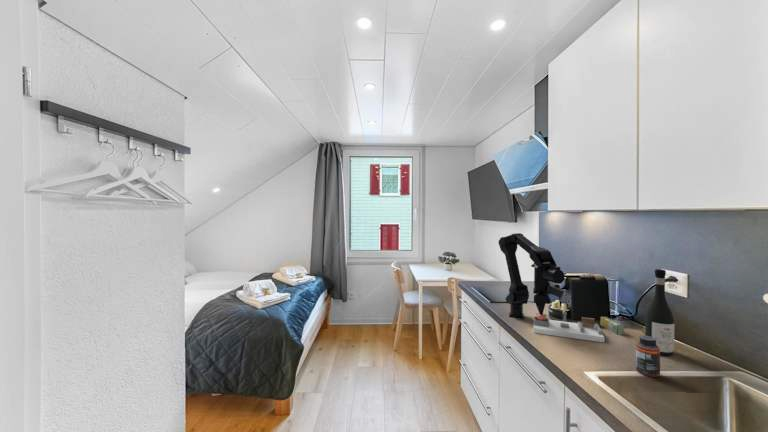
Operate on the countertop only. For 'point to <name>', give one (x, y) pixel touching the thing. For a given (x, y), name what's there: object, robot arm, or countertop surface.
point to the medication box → (612, 325)
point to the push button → (541, 317)
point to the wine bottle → (660, 317)
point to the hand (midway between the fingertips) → (541, 314)
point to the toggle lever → (564, 315)
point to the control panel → (568, 330)
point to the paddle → (588, 322)
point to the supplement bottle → (648, 357)
